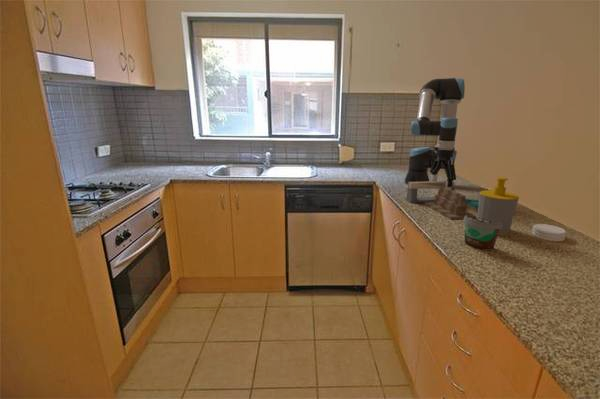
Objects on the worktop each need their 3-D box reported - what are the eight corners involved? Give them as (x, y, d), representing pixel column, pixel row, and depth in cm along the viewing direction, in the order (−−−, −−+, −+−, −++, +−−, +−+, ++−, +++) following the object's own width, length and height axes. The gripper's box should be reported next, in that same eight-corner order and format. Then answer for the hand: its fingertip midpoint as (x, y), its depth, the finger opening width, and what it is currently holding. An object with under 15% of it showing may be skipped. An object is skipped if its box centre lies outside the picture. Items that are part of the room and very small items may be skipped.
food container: (454, 243, 112) (458, 217, 109) (460, 238, 116) (464, 213, 113) (493, 254, 103) (498, 226, 100) (498, 248, 107) (503, 221, 105)
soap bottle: (510, 227, 127) (521, 176, 121) (512, 238, 116) (524, 183, 110) (474, 221, 133) (482, 173, 127) (473, 231, 123) (482, 179, 117)
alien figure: (455, 201, 164) (487, 213, 145) (456, 197, 163) (487, 209, 144) (486, 198, 169) (520, 210, 150) (487, 195, 168) (521, 205, 150)
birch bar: (407, 187, 162) (408, 181, 162) (450, 186, 165) (451, 180, 164) (410, 188, 160) (410, 183, 159) (453, 187, 162) (454, 182, 161)
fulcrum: (425, 204, 157) (427, 185, 154) (447, 203, 158) (450, 184, 156) (450, 219, 136) (453, 197, 133) (475, 218, 137) (479, 196, 135)
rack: (405, 199, 166) (406, 186, 164) (447, 198, 169) (448, 185, 167) (410, 202, 160) (411, 189, 158) (453, 201, 163) (455, 188, 161)
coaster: (532, 229, 125) (534, 221, 124) (564, 236, 119) (566, 227, 118) (530, 237, 117) (532, 228, 116) (564, 244, 111) (566, 235, 110)
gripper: (426, 146, 169) (421, 184, 175) (453, 152, 145) (447, 195, 151) (439, 146, 170) (434, 183, 176) (468, 152, 146) (461, 195, 152)
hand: (440, 189), depth 163 cm, fingers open, 13 cm apart
